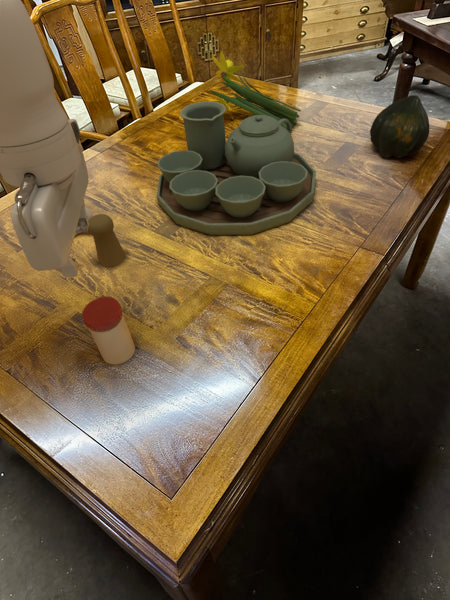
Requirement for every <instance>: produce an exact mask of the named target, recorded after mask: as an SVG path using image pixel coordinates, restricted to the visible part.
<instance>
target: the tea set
mask: <svg viewBox="0 0 450 600" xmlns="http://www.w3.org/2000/svg"><path fill="white" fill-rule="evenodd" d="M212 101H213V100H211V101H198V102H194V103H190V104H188V105H186V106H184V107H182V109H181V110H180V111H179V114H180V116H181V118H182V122H183V127H184V134H185V141H186V148H187V150H186V149H185V150H176V151H172V152H169V153H167V154H164V155H163V156H161V157H160V158H159V159H158V161H157V167H158V168H159V170H160V172H161V174H160V175H159V176H158V183H157V190H156V191H157V192H156V200H157V203H158V204H159V206H160V207H161V208H162V209H163V210H164V212H165V213H166V214H167V215H168V216H169V217H170V218H171V220H172V221H173V222H174V223H175V224H176V225H178V226H182V227H184V228H188V229H190V230H194V231H197V232H199V233H202V234H206V235H208V236H243V235H244V236H245V235H246V236H247V235H250V236H251V235H254V234H257V233H260V232H264V231H267V230H269V229H274V228H276V227H279V226H283V225H287V224H288V223H290V222H292V220H294V219H295V218H296V217H297V216H298V215H299V214H300V213H301V212H302V211H304V210H305V209H306V208H307V207H308V206H309V205H310V204H312V202H313V200H314V195H315V186H316V175H317V170H315V168H313V167H312V165H311V164H310V163H309V162H308V161H307V160H306V158H305V157H303V155H301V154H300V153H297V152H295V142H294V139H293V136H292V132H293V127H292V126H291V123H290V121H289V120H287V119H285V118H283V119H281V120H279V121H277V120H276V119H274V118H273V117H271V116H266V115H251V116H248V117H246V118H244V119H243V120H241V122H240V123H239V126H238V127H237V128H235V129H233V130H232V131H231V133H230V134H229V135H228V137H226V129H225V116H224V115H225V113H224V112H225V111H226V108H225V106H224V105H222V104H221V103H218V102H212ZM283 123H286V125H287V130H286V129H285V128H284V127H282V124H283ZM226 139H227V140H226Z"/></svg>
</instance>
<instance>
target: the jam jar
mask: <svg viewBox="0 0 450 600" xmlns="http://www.w3.org/2000/svg"><path fill="white" fill-rule="evenodd" d="M122 315H123V316H122V318H121V320H120V321H119V322H118V323H117V324H116V325H115V326H114V327H112V328H110V329H107V330H103V331H94V330H92V329H90V328H88V327H87V329H88V331H89V333H90V335H91V337H92V339H93V341H94V343H95V346H96V347H97V349H98V351H99V353H100V356H101V358H102V360H103V361H104V362H105V363H106V364H109V365H121V364H124V363H126V362H128V361H129V360H130V359H131V358H132V357H133V355H134V353H135V351H136V345H135V342H134V340H133V337H132V334H131V331H130V329H129V327H128V323H127V322H126V318H125V315H124V312H122Z"/></svg>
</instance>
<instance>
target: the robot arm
mask: <svg viewBox="0 0 450 600" xmlns="http://www.w3.org/2000/svg"><path fill="white" fill-rule="evenodd" d="M54 81H55V80H54V75H53V72H52V69H51V66H50V63H49V61H48V57H47V55H46V52H45V49H44V47H43V43H42V41H41V40H40V37H39V35H38V32H37V30H36V27H35V25H34V22H33V21H32V18H31V16H30V14H29V12H28V9H27V8H26V6H25V5H24V3H23V1H22V0H0V175H1V177H2V179H3V180H4V182H5V183H7V184H8V185H10V186H12V187H15V188H16V187H17V188H19V189H18V190H17V191H16V193H15V195H14V203H13V206H12V208H11V214H10V216H11V223H12V226H13V229H14V230H13V231H14V232H15V235H16V237H17V241H18V243H19V245H20V247H21V249H22V252H23V253H24V255H25V258H26V261H27V262H28V264H29V266H30V267H31V268H32V269H33V270H36V271H38V272H44V271H45V272H46V271H54V270H60V271H61V274H62V276H63V277H65V278H74V277H77V276H78V274H79V268H80V265H79V264H78V261H77V258H76V257H75V258H71V250H72V247H73V243H74V239H75V237H74V235H75V231H76V232H77V233H79V234H81V233H87V232H88V227H89V222H88V219H87V217H86V210H85V207H86V201H85V197H86V193H87V189H88V186H89V171H88V166H87V162H86V159H85V156H84V152H83V147H82V143H81V142H80V139H81V129H80V126H79V123H78V121H77V119H76V118H68V116H67V113H66V112H65V110H64V108H62V105H61V104H60V102H59V100H58V98H57V95H56V91H55V82H54Z"/></svg>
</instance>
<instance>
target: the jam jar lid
mask: <svg viewBox="0 0 450 600" xmlns="http://www.w3.org/2000/svg"><path fill="white" fill-rule="evenodd" d="M81 312H82V313H81V317H82V320H83V321H82V322H84V325H85V326H86V328H87V329H88V328H90V329H92V330H94V331H103V330H107V329H110V328H112V327H114V326H115V325H116V324H117V323H118V322H119V321H120V320H121V318H122V316H124V314H123V315H122V313H124V311H123V307H122V305H121V303H120V301H119V300H117V299H116V298H115V297H111V296H101V297H97V298H94V299H93V300H91V301H90V302H89V303H87V304H86V305H85V307H84V308H83V310H82V311H81Z"/></svg>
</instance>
